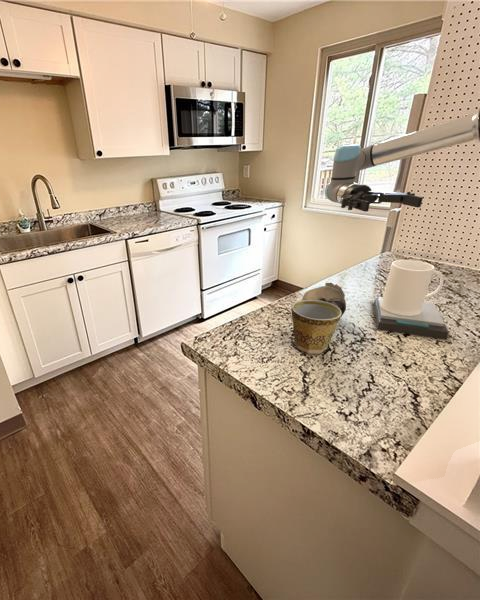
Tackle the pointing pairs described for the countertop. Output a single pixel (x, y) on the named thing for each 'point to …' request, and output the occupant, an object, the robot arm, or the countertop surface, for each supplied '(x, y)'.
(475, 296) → the countertop surface
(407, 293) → the mug
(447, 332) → the scale
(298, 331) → the ceramic cup
